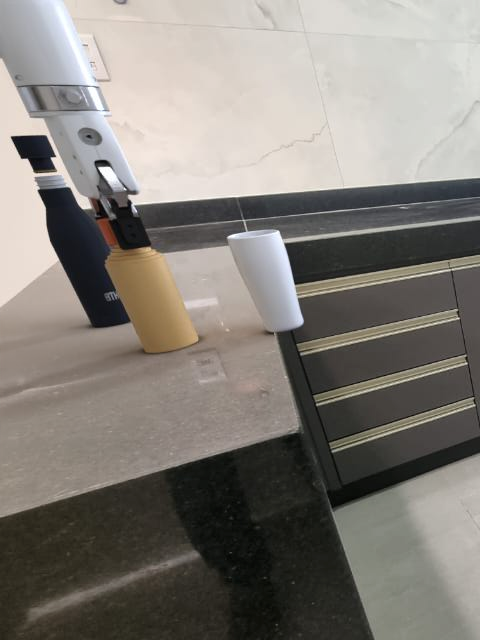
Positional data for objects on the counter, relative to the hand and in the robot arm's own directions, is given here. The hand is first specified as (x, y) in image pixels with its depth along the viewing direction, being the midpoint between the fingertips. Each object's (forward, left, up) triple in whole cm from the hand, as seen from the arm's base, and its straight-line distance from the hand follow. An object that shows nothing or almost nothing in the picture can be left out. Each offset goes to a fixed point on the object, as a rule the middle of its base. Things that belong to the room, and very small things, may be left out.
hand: (129, 245), depth 74 cm
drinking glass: (+12, +9, -15) cm, 21 cm away
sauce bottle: (0, 0, -15) cm, 15 cm away
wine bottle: (-24, +7, -15) cm, 29 cm away
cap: (0, 0, 0) cm, 0 cm away
